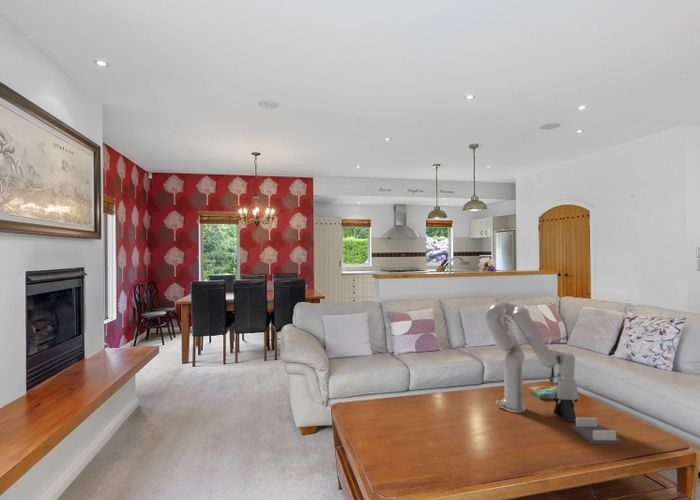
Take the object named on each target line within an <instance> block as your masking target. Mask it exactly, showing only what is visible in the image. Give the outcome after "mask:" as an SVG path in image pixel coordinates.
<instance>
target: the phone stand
mask: <svg viewBox="0 0 700 500" xmlns="http://www.w3.org/2000/svg"><path fill="white" fill-rule="evenodd" d="M560 404H561V411H558V410H557V409H556V405H555V407H554V409H553V412H552V414H554V415H556V416H558V417H560V418H561V419H563V420H566V421H572V420H576V418H577V417H576V412H575V407H574V408H573V406H572V404H573V403H572V400H561V402H560Z"/></svg>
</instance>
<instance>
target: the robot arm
mask: <svg viewBox="0 0 700 500" xmlns="http://www.w3.org/2000/svg"><path fill="white" fill-rule="evenodd" d="M503 317H504V318H505V317H506V318H509V319H511V320H513V322H514V324H515V325H516V326H517V327H518V329H519V330H520V333H522V335H523V336H524V337H525V339H526V341H527V342H528V343H527V344H529V346H530V348H531V349H532V351H533V353H534V354H535V356H536V357H537V358H538V360H539V361H540V363H541V364H542V365H543V366H544V367H546V368H549V369H550V368H555V366H557V365H558V366H557V374H555V377H556V379H555V383H554V386H555V388H554V392H553V393H552V394H551V395H550V396H551V397H552V398H553V399H552V400H553V401H554V402H555V406H556V409H557V410H558V411H561V404H560V402H561V400H572V403H573V404H572V406H573V408H574V409H575V404H576V403H577V402H578V401H579V399H581V395H580V394H578V385H577V381H576V380H575V369H576V366H575V365H576V364H575V363H576V358H575V355H574V354H572V353H570V352H561V351H558V350H555V349H550V348H549V346H547V344H546V342H545V340H544V337H543V334H542V331H541V330H540V328H539V327H538V326H537V324H536V323H535V322H534V320H533V319H532V318H531V315H530V311H529V310H528V308H526V307H524V306H520V305H517V304H513V303H509V302H507V301H498V302H496V303H494V304H492V305H491V306H490V307H489V308H488V310H487V311H486V313H485V323H486V325H487V327H488V329H489V331H490V334H491V336H492V338H493V340H494V343H495V345H496V346H497V348H498V349H499V350H500V351H502V352H504V353H505V356H504V358H503V373H504V375H503V377H504V378H503V380H504V385H503V386H504V387H503V388H504V389H503V390H504V394H503V395H504V397H503V398H502V399H501V400H498V399H497V400H495V405H499V406H501V409H503V410H505V411H507V412H511V413H514V414H515V413H517V414H518V413H519V414H520V413H525V412H526V410H527V407H526V406H525V405H524V403H523V402H524V401H523V400H524V395H523V393H524V389H523V387H524V386H523V385H524V382H523V381H524V380H523V364H524V362H525V359H526V357H525V354H524V351H523V350H522V347H521V345H520V343H519V341H518V339H517V337H516V336H515V335H514V333H512V332H510V331H508V329H507V328H506V326H505V324H504V322H503V321H502V318H503ZM554 396H557V397H556V398H555V397H554Z"/></svg>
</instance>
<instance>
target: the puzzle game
mask: <svg viewBox="0 0 700 500" xmlns="http://www.w3.org/2000/svg"><path fill="white" fill-rule="evenodd" d="M554 388H555V385H546V386H545V385H539V386H528V391H529V392H531V394H532V395H534V396H535V397H537V398H538V399H540V400H553V398H552V397H551V396H550V395H551V394H552V393H553V392H554ZM554 397H555V398H556V397H557V396H554Z"/></svg>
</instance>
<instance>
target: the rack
mask: <svg viewBox="0 0 700 500" xmlns="http://www.w3.org/2000/svg"><path fill="white" fill-rule="evenodd" d="M570 428H571V429H572V430H573V431H574V432H575V433H577V435H579V436H581V438H583V439H584V440H585V441H586V442H588V443H589V444H590V445H622V440H621V439H620V438H618V437H617V431H616V430H614V429H613V430H612V429H611V430H610V429H609V430H607V429H606V428H605V427H602V426H601V425H600V424H598V418H597V417H595V416H594V417H576V419H575V424H570Z"/></svg>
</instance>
